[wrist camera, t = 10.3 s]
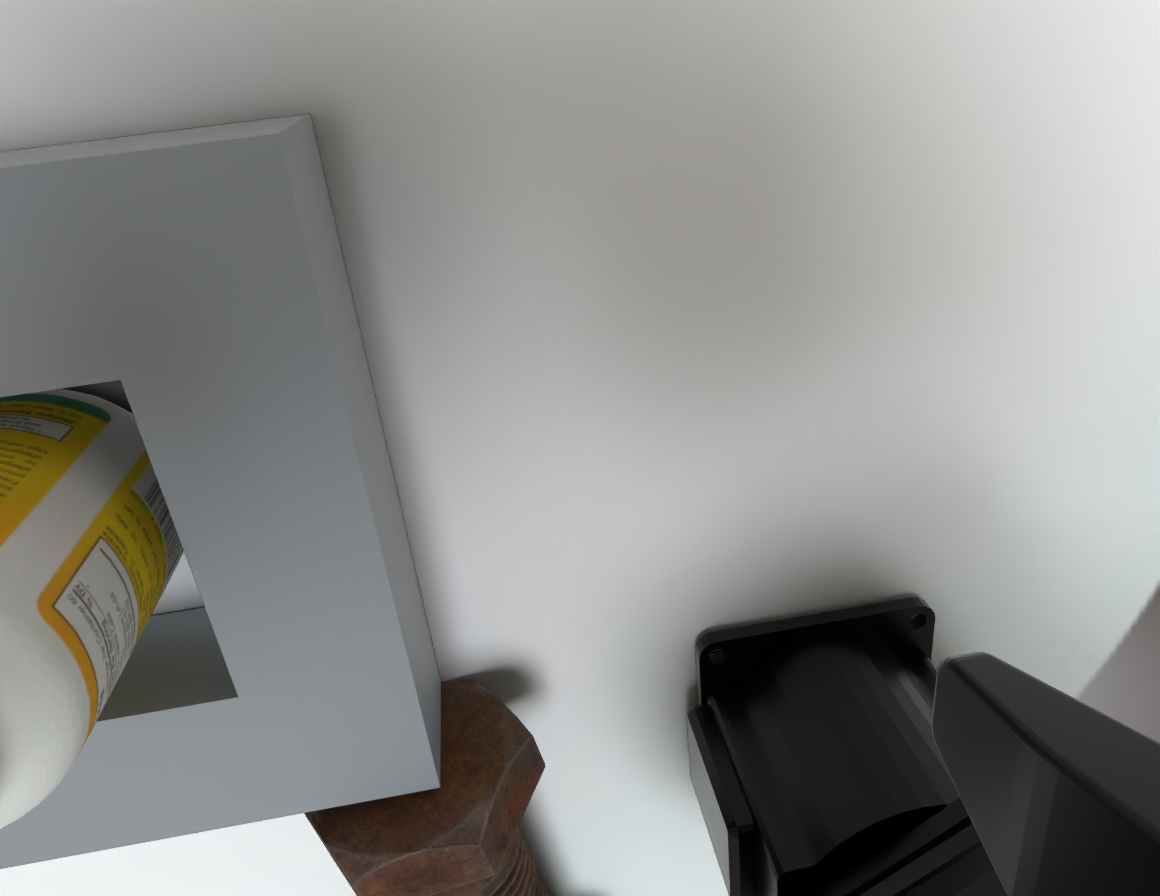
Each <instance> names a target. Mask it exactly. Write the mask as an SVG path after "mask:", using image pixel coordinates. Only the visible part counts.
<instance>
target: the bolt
mask: <svg viewBox="0 0 1160 896" xmlns="http://www.w3.org/2000/svg"><path fill="white" fill-rule="evenodd" d="M544 768H545V763H544V761H543V759H542V756H541V754H540V752H539V749H538V747H537V745H536V742H535V740H534V737H533V736H532V734H531V733H530V732H529V731H528V730H527V729H526V727H525V726H524V725H523V724H522V723H521V721H520V720H519V719H518V718H517V717H516V716H515V715H514V714H513V713H512V712H511V711H510V710H509V709H508V708H507V707H506V706H505V705H504V704H503V703H502V702H501V701H500V700H499V699H498V698H497V697H496V696H495V695H493V694H492V693H491V692H490V691H489V690H488V689H486V688H485V687H483V686H482V685H480V684H478V683H475V682H442V683H441V756H440V788H436V789H430V790H425V791H419V792H414V793H408V794H403V795H398V796H392V797H387V798H381V799H376V800H371V801H365V802H360V803H354V804H349V805H344V806H338V807H333V808H327V809H322V810H317V811H311V812H306V813H304V814H305V815H306V817H307V819H308V820H309V822H310V823H311V825H312V826H313V828H314V829H315V831H316V833H317V834H318V836H319V837H320V839H321V841H322V842H323V844H324V845H325V847H326V848H327V850H328V852H329V853H330V855H331V856H332V858H333V859H334V861H335V863H336V864H337V866H338V867H339V869H340V870H341V872H342V873H343V875H344V876H345V878H346V880H347V881H348V883H349V884H350V886H351V887H352V889H353V890H354V892H355V893H356V895H357V896H550V895H549V893H548V890H547V888H546V886H545V884H544V882H543V880H542V878H541V876H540V874H539V871H538V868H537V866H536V864H535V863H534V861H533V859H532V856H531V853H530V851H529V849H528V847H527V844H526V843H525V841H524V838H523V835H522V834H521V832H520V829H519V827H518V825H519V823H520V821H521V819H522V817H523V814H524V812H525V810H526V808H527V806H528V803H529V801H530V799H531V797H532V795H533V792H534V790H535V788H536V786H537V784H538V781H539V779H540V777H541V775H542V773H543V770H544Z"/></svg>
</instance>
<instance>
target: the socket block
mask: <svg viewBox="0 0 1160 896" xmlns="http://www.w3.org/2000/svg"><path fill="white" fill-rule="evenodd" d="M117 380H121V383H122V386H123V388H124V391H125V394H126V396H127V399H128V402H129V404H130V407H131V410H132V412H133V415H134V418H135V420H136V423H137V426H138V429H139V431H140V434H141V437H142V439H143V442H144V445H145V447H146V450H147V453H148V455H149V458H150V461H151V463H152V466H153V469H154V472H155V474H156V477H157V480H158V482H159V485H160V488H161V490H162V493H163V496H164V498H165V501H166V504H167V506H168V509H169V512H170V515H171V517H172V520H173V523H174V525H175V528H176V531H177V533H178V536H179V539H180V541H181V544H182V547H183V549H184V552H185V555H186V558H187V560H188V563H189V566H190V568H191V571H192V574H193V576H194V579H195V582H196V584H197V587H198V590H199V592H200V595H201V598H202V601H203V603H204V606H205V607H203V608H197V609H191V610H185V611H179V612H173V613H166V614H160V615H154V616H150V618H149V620H148V622H147V624H146V626H145V628H144V630H143V632H142V634H141V635H140V637H139V639H138V641H137V643H136V645H135V647H134V649H133V651H132V653H131V655H130V657H129V659H128V661H127V663H126V665H125V667H124V669H123V671H122V673H121V675H120V677H119V679H118V680H117V682H116V684H115V686H114V688H113V690H112V692H111V694H110V696H109V698H108V700H107V702H106V704H105V706H104V707H103V709H102V711H101V713H100V715H99V717H98V719H97V722H96V724H95V725H94V727H93V729H92V732H91V734H90V735H89V737H88V739H87V740H86V742H85V744H84V746H83V748H82V750H81V752H80V754H79V755H78V757H77V759H76V761H75V762H74V764H73V766H72V767H71V768H70V770H69V771H68V773H67V774H66V776H65V777H64V778H63V780H62V781H61V782H60V783H59V784H58V785H57V787H56V788H55V789H54V790H53V791H52V792H51V793H50V794H49V795H48V796H47V797H46V798H45V799H44V800H43V801H42V802H41V803H39V804H38V805H37V806H36V807H34V808H33V809H32V810H30V811H29V812H28V813H26V814H25V815H24V816H22V817H21V818H19V819H17V820H16V821H14V822H12V823H11V824H9V825H7V826H5V827H3V828H1V829H0V869H3V868H8V867H14V866H19V865H25V864H30V863H35V862H41V861H46V860H52V859H57V858H62V857H68V856H73V855H79V854H84V853H89V852H95V851H100V850H106V849H111V848H116V847H122V846H127V845H133V844H138V843H143V842H149V841H154V840H160V839H165V838H171V837H176V836H181V835H187V834H192V833H198V832H203V831H208V830H214V829H219V828H225V827H230V826H235V825H241V824H246V823H252V822H257V821H262V820H268V819H273V818H279V817H284V816H290V815H295V814H300V813H306V812H311V811H317V810H322V809H327V808H333V807H338V806H344V805H349V804H354V803H360V802H365V801H371V800H376V799H381V798H387V797H392V796H398V795H403V794H408V793H414V792H419V791H425V790H430V789H436V788H440V756H441V679H440V675H439V671H438V666H437V662H436V658H435V653H434V649H433V645H432V640H431V636H430V632H429V627H428V623H427V619H426V614H425V610H424V605H423V601H422V597H421V592H420V588H419V584H418V579H417V575H416V571H415V566H414V562H413V558H412V553H411V549H410V545H409V540H408V536H407V532H406V527H405V523H404V519H403V514H402V510H401V506H400V501H399V497H398V493H397V488H396V484H395V479H394V475H393V471H392V466H391V462H390V458H389V453H388V449H387V445H386V440H385V436H384V432H383V427H382V423H381V419H380V414H379V410H378V406H377V401H376V397H375V393H374V388H373V384H372V380H371V375H370V371H369V367H368V362H367V358H366V354H365V349H364V345H363V340H362V336H361V332H360V327H359V323H358V319H357V314H356V310H355V306H354V301H353V297H352V293H351V288H350V284H349V280H348V275H347V271H346V267H345V262H344V258H343V254H342V249H341V245H340V241H339V236H338V232H337V228H336V223H335V219H334V214H333V210H332V206H331V201H330V197H329V193H328V188H327V184H326V180H325V175H324V171H323V167H322V162H321V158H320V154H319V149H318V145H317V141H316V136H315V132H314V128H313V123H312V119H311V115H310V114H303V115H295V116H287V117H279V118H271V119H263V120H254V121H246V122H238V123H230V124H222V125H214V126H206V127H197V128H189V129H181V130H173V131H165V132H157V133H149V134H141V135H132V136H124V137H116V138H108V139H100V140H92V141H84V142H75V143H67V144H59V145H51V146H43V147H35V148H27V149H18V150H10V151H2V152H0V397H6V396H13V395H20V394H27V393H34V392H41V391H48V390H55V389H61V388H68V387H75V386H82V385H89V384H96V383H103V382H110V381H117Z"/></svg>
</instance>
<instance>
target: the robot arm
mask: <svg viewBox="0 0 1160 896" xmlns="http://www.w3.org/2000/svg"><path fill="white" fill-rule="evenodd" d="M916 614H918V615H917V616H916V617H915V618H914V619H911V620H909V619H910V618H911V617H912V616H913V615H916ZM934 624H935V614H934V612H933V611H932V609H931V608H930V607H929V606H928V605H927V603H926V602H925V601H924V600H923V599H920V598H906V599H901V600H895V601H889V602H883V603H878V604H872V605H866V606H861V607H855V608H849V609H843V610H838V611H832V612H826V613H821V614H815V615H809V616H804V617H798V618H792V619H786V620H781V621H775V622H769V623H764V624H758V625H752V626H746V627H741V628H735V629H729V630H724V631H718V632H713V633H710V634H707V635H705V636H703V637H702V638H701V639H700V640H699V641H698V643H697V644H696V649H695V656H696V673H697V691H698V705H695V706H692V707H691V709H690V710H689V712H688V713H687V731H688V747H689V762H690V776H691V780H692V783H693V786H694V790H695V793H696V796H697V799H698V802H699V805H700V808H701V811H702V814H703V817H704V820H705V823H706V826H707V830H708V833H709V836H710V839H711V842H712V845H713V848H714V851H715V854H716V857H717V860H718V863H719V866H720V869H721V873H722V876H723V879H724V882H725V885H726V888H727V891H728V894H729V896H1160V743H1159V742H1157V741H1155V740H1153V739H1151V738H1150V737H1147V736H1146V735H1144V734H1142V733H1140V732H1138V731H1136V730H1134V729H1132V728H1130V727H1128V726H1126V725H1125V724H1123V723H1121V722H1119V721H1117V720H1115V719H1113V718H1111V717H1109V716H1107V715H1105V714H1103V713H1102V712H1100V711H1098V710H1096V709H1094V708H1092V707H1090V706H1088V705H1086V704H1084V703H1083V702H1081V701H1079V700H1077V699H1075V698H1073V697H1071V696H1069V695H1067V694H1065V693H1063V692H1062V691H1060V690H1058V689H1056V688H1054V687H1052V686H1050V685H1048V684H1046V683H1044V682H1042V681H1040V680H1039V679H1037V678H1035V677H1033V676H1031V675H1029V674H1027V673H1025V672H1023V671H1021V670H1019V669H1018V668H1016V667H1014V666H1012V665H1010V664H1008V663H1006V662H1004V661H1002V660H1000V659H998V658H996V657H995V656H992V655H990V654H988V653H984V652H975V653H969V654H964V655H958V656H953V657H948V658H945V659H943V660H942V661H941V662H940V664H939V666H938V669H937V668H936V667H935V666H934V665H933V663H932V662H931V653H932V643H933V634H934ZM717 649H722V650H721V651H720V652H719V653H717V654H715V655H709V654H710V653H711V652H712V651H714V650H717Z"/></svg>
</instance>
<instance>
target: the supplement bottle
mask: <svg viewBox="0 0 1160 896" xmlns="http://www.w3.org/2000/svg"><path fill="white" fill-rule="evenodd" d="M183 551H184V549H183V547H182V544H181V541H180V539H179V536H178V533H177V531H176V528H175V525H174V523H173V520H172V517H171V515H170V512H169V509H168V506H167V504H166V501H165V498H164V496H163V493H162V490H161V488H160V485H159V482H158V480H157V477H156V474H155V472H154V469H153V466H152V463H151V461H150V458H149V455H148V453H147V450H146V447H145V445H144V442H143V439H142V437H141V434H140V431H139V429H138V426H137V423H136V420H135V418H134V415H133V414H132V413H130V412H128V411H127V410H125V409H123V408H121V407H120V406H118V405H115V404H113V403H111V402H109V401H107V400H104V399H102V398H100V397H97V396H94V395H89V394H84V393H81V392H77V391H71V390H65V389H55V390H48V391H41V392H34V393H27V394H20V395H13V396H6V397H0V829H1V828H3V827H5V826H7V825H9V824H11V823H12V822H14V821H16V820H17V819H19V818H21V817H22V816H24V815H25V814H26V813H28V812H29V811H30V810H32V809H33V808H34V807H36V806H37V805H38V804H39V803H41V802H42V801H43V800H44V799H45V798H46V797H47V796H48V795H49V794H50V793H51V792H52V791H53V790H54V789H55V788H56V787H57V785H58V784H59V783H60V782H61V781H62V780H63V778H64V777H65V776H66V774H67V773H68V771H69V770H70V768H71V767H72V766H73V764H74V762H75V761H76V759H77V757H78V755H79V754H80V752H81V750H82V748H83V746H84V744H85V742H86V740H87V739H88V737H89V735H90V734H91V732H92V729H93V727H94V725H95V724H96V722H97V719H98V717H99V715H100V713H101V711H102V709H103V707H104V706H105V704H106V702H107V700H108V698H109V696H110V694H111V692H112V690H113V688H114V686H115V684H116V682H117V680H118V679H119V677H120V675H121V673H122V671H123V669H124V667H125V665H126V663H127V661H128V659H129V657H130V655H131V653H132V651H133V649H134V647H135V645H136V643H137V641H138V639H139V637H140V635H141V634H142V632H143V630H144V628H145V626H146V624H147V622H148V620H149V618H150V616H151V614H152V613H153V611H154V609H155V607H156V605H157V603H158V601H159V599H160V597H161V595H162V593H163V591H164V589H165V588H166V586H167V584H168V582H169V580H170V578H171V576H172V574H173V572H174V570H175V568H176V566H177V564H178V562H179V560H180V557H181V555H182V553H183Z"/></svg>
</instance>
